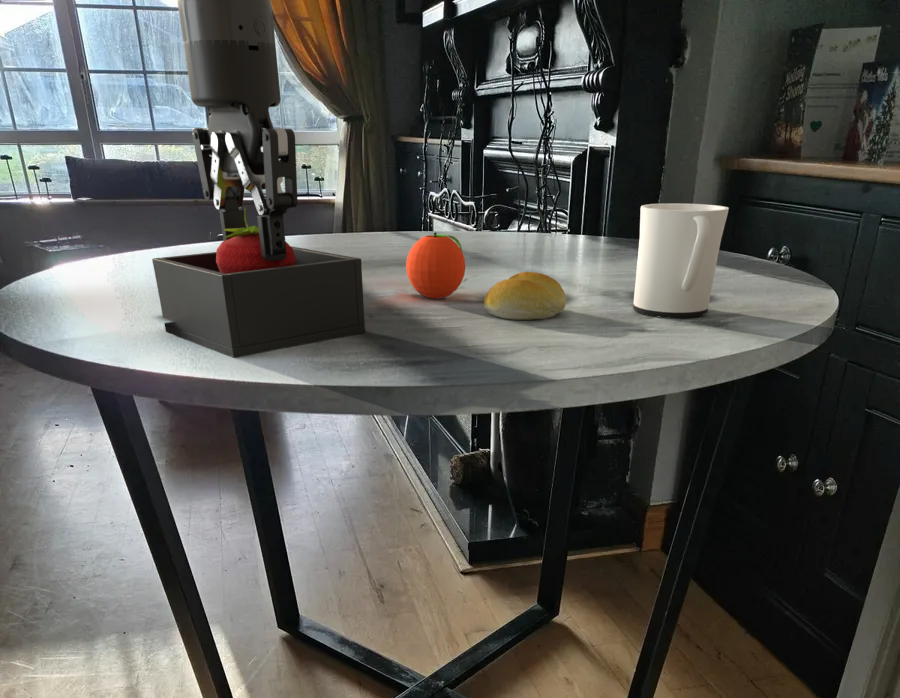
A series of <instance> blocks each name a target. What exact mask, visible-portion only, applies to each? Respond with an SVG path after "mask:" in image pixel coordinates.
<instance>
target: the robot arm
mask: <svg viewBox="0 0 900 698" xmlns="http://www.w3.org/2000/svg"><path fill="white" fill-rule="evenodd" d="M177 7H178V8H177V9H178V16H179V22H180V23H179V24H180V29H181V34H182V35H181V37H182V42H183V50H184V57H185V63H186V70H187V77H188V84H189V92H190V98H191V102H192V103H193V104H194V105H195V106H197V107H200V108H206V109H207V110H208V125H207V127H200V128H199V127H194V128H192V131H191V135H192V141H193V146H194V152H195V157H196V161H197V168H198V172H199V178H200V182H201V188H202V194H203V198H204V199H205V201H206V202H209V201H212V202H213V206H214V208H215V209H216V210H217V211H219V218H220V219H219V220H220V227H221V233H222V240H223V241H226V240H228V239H231V238H233V237H231V238H225V236H228V235H230V234H232V233H235V232H229V231H225V229H232V228H247V226H246V223H245V220H244V213H245V209H241V208H243V205H244V197H245V196H244V195H245V190H246V191H247V192H249V193H250V194H251V197H252V200H253V204H254V206H255V208H256V212H257V214H258V216H256V218H257V227H258V228H259V236H260V245H261V254H262V258H263V259H264V260H265V261H270V262H272V261H281V260H284V259H285V258H286V242H287V241H286V233H285V232H286V231H285V222H284V215H285V214H287V212H288V210H290V209H293V208H296V207H297V206H298V202H299V201H298V200H299V199H298V180H297V179H298V178H297V177H298V175H297V153H296V152H297V149H296V134H295V131H294V130H293V129H292V128H281V127H280V128H279V127H277V128H276V127H274V125H273V123H272V122H273V121H272V118H271V115H270V108H276V107H278V106H279V105H280V104H281V99H282V98H281V89H280V79H279V77H280V76H279V67H278V56H277V46H276V45H277V44H276V36H275V35H276V34H275V26H274V15H273V14H274V13H273V7H272V1H271V0H177ZM283 181H284V192H283V189H282V186H281V184H282V183H283ZM213 183H214V185H213ZM264 190H265V194H264ZM223 241H222V242H223ZM285 241H286V242H285Z"/></svg>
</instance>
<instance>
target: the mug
mask: <svg viewBox="0 0 900 698" xmlns="http://www.w3.org/2000/svg"><path fill="white" fill-rule="evenodd" d="M729 209H730V207H728V206H723V205H716V204H705V203H649V204H642V205H641V206H640V215H639V218H640V219H639V241H638V253H637V263H636V273H635V281H634V294H633V303H632V304H633V306H632V307H633V310H634V311H635V312H636V311H637V312H636V313H638V312H639V313H638V314H641V313H643V314H642V315H644V314H648V315H647V316H649V315H653V316H652V317H655V316H660V317H659V318H664V317H670V318H669V319H684V318H683V317H692V318H695V317H694V316H699V317H701V316H700V315H702V316H704V315H706V314H707V313H708V310H709V305H710V300H711V294H712V289H713V283H714V278H715V274H716V270H717V269H716V268H717V262H718V257H719V253H720V247H721V242H722V238H723V234H724V230H725V226H726V222H727V218H728V214H729ZM706 312H707V313H706ZM705 313H706V314H705ZM703 314H704V315H703Z"/></svg>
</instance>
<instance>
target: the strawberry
mask: <svg viewBox="0 0 900 698" xmlns="http://www.w3.org/2000/svg"><path fill="white" fill-rule="evenodd" d="M244 220H245V225H246V228H232V229H225V231H229V232H235V233H232V234H230V235H228V236H225V238H231V237H233V238H231V239H228V240H226V241H221V243H220V244H219V246H218V247H217V248H216V252H217V253H216V263H217V265H218V268H219V270H220V272H221V273H225V274H227V273H235V272H244V271H252V270H260V269H268V268H276V267H285V266H293V265H295V264H296V258H295V255H294V251H293V248H292V247H293V246H292V247H291V245H290V244H289V243H288V242H287V241H286V240H285V242H286V258H285V259H284V260H281V261H272V262H270V261H265V260H264V259H263V258H262V254H261V245H260V236H259V228H258V226H255V225H251V226H249V225H248V223H247V222H248V221H247V206H245V205H244Z"/></svg>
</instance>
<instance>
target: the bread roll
mask: <svg viewBox="0 0 900 698" xmlns="http://www.w3.org/2000/svg"><path fill="white" fill-rule="evenodd" d="M566 296H567V295H566V293H565V290H564V289H563V286H562V285H561V284H560V283H559V281H557V280H556V279H555V278H553V277H551V276H550V275H547V274H544V273H541V272H535V271H524V272H519V273H516V274H513V275H511V276H510V277H509V278H508V279H504V280H500V281H498V282H496V283H495V284H494V285H493V286H491V287H490V289H489V290H488V291H487V293H486V294H485V297H484V299H483V300H484V301H483V305H484V309H485V311H487V313H489V314H490V315H491V316H495V317H497V318H500V319H506V320H516V321H517V320H518V321H531V320H545V319H547V320H548V319H549V318H553V317H555V316H556V315H558V314H560V313H561V312H563V311H564V309H565V308H566V306H567V297H566Z"/></svg>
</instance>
